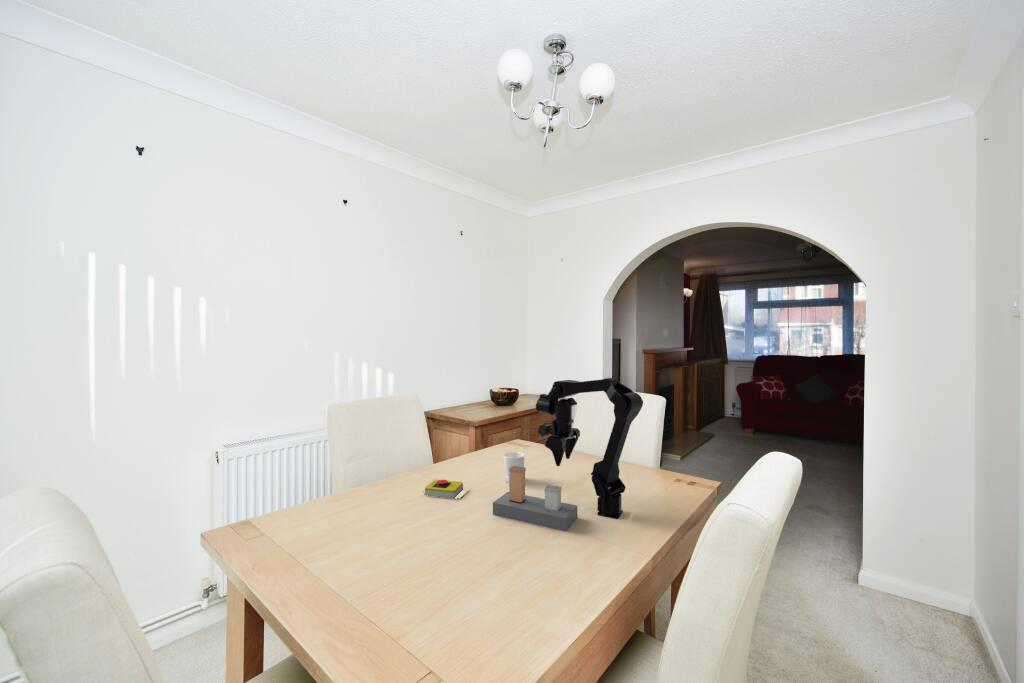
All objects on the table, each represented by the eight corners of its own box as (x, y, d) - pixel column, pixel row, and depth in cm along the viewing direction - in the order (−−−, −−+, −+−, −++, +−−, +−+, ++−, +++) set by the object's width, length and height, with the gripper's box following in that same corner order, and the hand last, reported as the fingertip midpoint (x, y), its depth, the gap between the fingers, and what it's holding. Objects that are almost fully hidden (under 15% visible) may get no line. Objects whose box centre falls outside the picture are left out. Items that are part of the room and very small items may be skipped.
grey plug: (561, 519, 132) (561, 486, 131) (557, 523, 129) (557, 490, 129) (548, 516, 134) (548, 484, 133) (544, 520, 131) (544, 487, 130)
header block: (577, 518, 133) (577, 505, 133) (565, 532, 124) (565, 518, 124) (507, 503, 144) (507, 491, 144) (492, 515, 135) (492, 502, 135)
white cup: (516, 486, 160) (516, 459, 160) (499, 481, 165) (499, 455, 164) (528, 480, 166) (528, 454, 166) (512, 475, 171) (512, 450, 171)
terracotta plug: (525, 499, 137) (525, 467, 137) (521, 502, 134) (521, 470, 134) (513, 496, 139) (513, 465, 139) (509, 500, 136) (509, 468, 136)
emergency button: (430, 475, 160) (469, 479, 156) (430, 487, 160) (469, 491, 156) (419, 484, 151) (460, 488, 147) (419, 496, 151) (460, 501, 147)
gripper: (551, 410, 161) (551, 452, 162) (530, 419, 144) (530, 466, 145) (580, 413, 156) (580, 456, 156) (561, 423, 139) (561, 471, 140)
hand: (562, 462), depth 150 cm, fingers open, 9 cm apart
